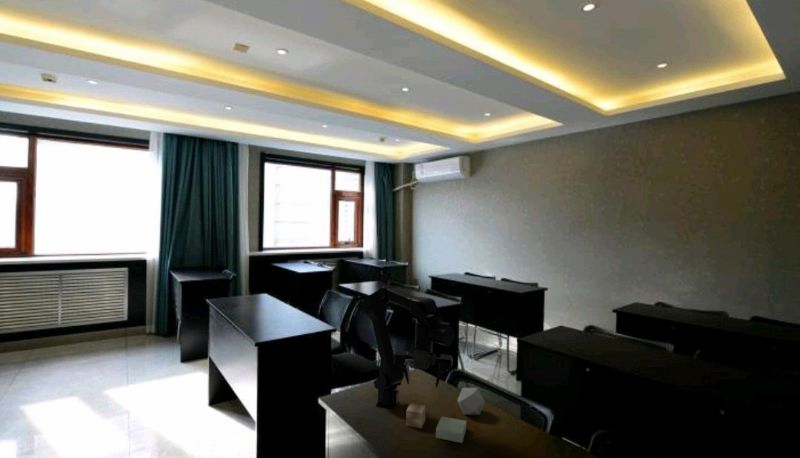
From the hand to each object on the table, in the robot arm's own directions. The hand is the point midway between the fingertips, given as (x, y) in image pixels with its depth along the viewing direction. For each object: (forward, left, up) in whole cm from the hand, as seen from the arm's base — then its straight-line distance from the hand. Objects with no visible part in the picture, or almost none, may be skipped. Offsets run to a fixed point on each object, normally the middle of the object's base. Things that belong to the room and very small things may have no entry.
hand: (422, 385), depth 122 cm
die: (+14, +12, -12) cm, 22 cm away
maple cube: (-2, -1, -12) cm, 12 cm away
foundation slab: (+10, -3, -12) cm, 16 cm away
